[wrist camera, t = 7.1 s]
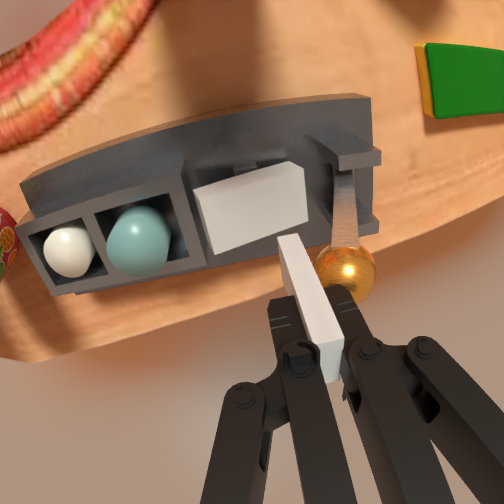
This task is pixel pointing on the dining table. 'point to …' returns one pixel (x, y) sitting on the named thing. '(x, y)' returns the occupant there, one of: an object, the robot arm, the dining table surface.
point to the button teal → (139, 241)
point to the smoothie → (7, 242)
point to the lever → (346, 245)
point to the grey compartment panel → (201, 182)
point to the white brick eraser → (252, 205)
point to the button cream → (70, 248)
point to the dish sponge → (460, 80)
